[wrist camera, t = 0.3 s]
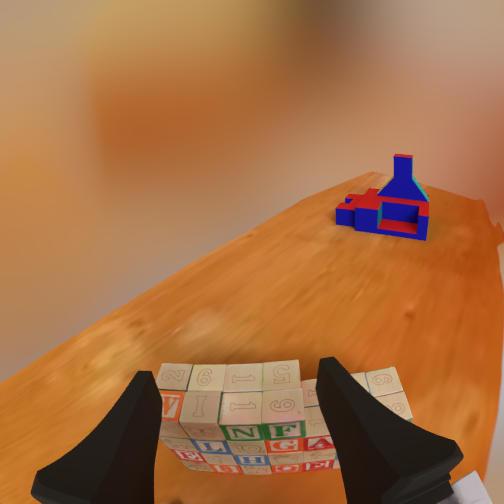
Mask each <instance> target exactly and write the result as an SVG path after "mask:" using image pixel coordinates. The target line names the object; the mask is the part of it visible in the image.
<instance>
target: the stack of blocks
mask: <svg viewBox="0 0 504 504" xmlns="http://www.w3.org/2000/svg"><path fill="white" fill-rule="evenodd" d="M350 375H351V376H352V377H353V378H354V379H355V380H356V381H357V382H358V383H359V384H360V385H361V386H363V387H364V388H365V389H366V390H367V391H368V392H369V393H370V394H371V395H372V396H374V397H375V398H376V399H377V400H378V401H379V402H381V403H382V404H383V405H385V406H386V407H387V408H389V409H390V410H391V411H393V412H394V413H396V414H397V415H399V416H400V417H402V418H404V419H405V420H407V421H409V422H411V420H412V419H413V417H412V413H411V410H410V407H409V404H408V401H407V398H406V395H405V392H403V388H402V385H401V382H400V380H399V377H398V374H397V372H396V369H395V367H390V368H385V369H380V370H375V371H370V372H367V373H364V372H361V373H355V374H350ZM316 381H317V379H311V380H304V381H301V377H300V365H299V360H288V361H276V362H264V363H251V364H232V365H227V364H206V365H197V364H196V365H192V364H174V363H163V364H162V365H161V368H160V371H159V373H158V376H157V379H156V381H155V382H156V384H157V387H158V389H159V392H160V394H161V397H162V399H163V406H162V422H161V427H160V433H159V438H160V439H161V441H163V443H164V444H165V445H166V446H167V447H168V448H169V449H171V450H172V452H173V453H174V454H175V455H176V456H177V457H178V458H179V459H181V462H182V463H183V464H184V465H185V466H186V467H187V468H188V469H192V470H200V471H210V472H216V473H228V474H253V475H262V474H273V473H293V472H302V471H313V470H322V469H330V468H332V469H337V468H340V464H339V460H338V456H337V453H336V450H335V447H334V444H333V441H332V439H331V436H330V434H329V431H328V428H327V426H326V423H325V421H324V418H323V415H322V413H321V410H320V407H319V403H318V399H317V394H316V390H315V387H316Z"/></svg>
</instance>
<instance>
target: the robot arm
mask: <svg viewBox="0 0 504 504" xmlns="http://www.w3.org/2000/svg"><path fill="white" fill-rule="evenodd" d="M315 390H316V394H317V399H318V403H319V407H320V410H321V413H322V415H323V418H324V421H325V423H326V426H327V428H328V431H329V434H330V436H331V439H332V441H333V444H334V447H335V450H336V453H337V456H338V460H339V464H340V469H341V473H342V478H343V482H344V487H345V493H346V498H347V504H493V503H492V501H491V499H490V497H489V495H488V493H487V491H486V489H485V487H484V485H483V483H482V481H481V479H480V478H479V476H478V474H477V472H476V470H473V471H472V472H470V473H469V474H467V475H465V476H464V477H462V478H461V479H459V480H457V481H456V482H454V483H453V484H451V485H450V483H449V480H450V479H451V476H450V474H449V472H450V471H451V470H452V469H453V468H455V467H456V466H457V465H458V464H459V463H460V462H461V461H462V459H463V457H464V456H463V454H462V452H461V450H460V448H459V446H458V445H457V443H456V442H455V441H454V440H451V439H448V438H445V437H442V436H439V435H436V434H433V433H431V432H429V431H426V430H424V429H422V428H420V427H418V426H416V425H414V424H412V423H411V422H409V421H407V420H405V419H404V418H402V417H400V416H399V415H397V414H396V413H394V412H393V411H391V410H390V409H389V408H387V407H386V406H385V405H383V404H382V403H381V402H379V401H378V400H377V399H376V398H375V397H374V396H372V395H371V394H370V393H369V392H368V391H367V390H366V389H365V388H364V387H363V386H361V385H360V384H359V383H358V382H357V381H356V380H355V379H354V378H353V377H352V376H351V375H350V373H349V372H348V371H347V370H346V369H345V368H344V367H343V366H342V365H341V364H340V363H339V362H338V360H337V359H336V358H335V357H328V358H322V359H320V362H319V369H318V375H317V381H316V387H315ZM162 406H163V399H162V397H161V394H160V392H159V389H158V387H157V384H156V382H155V379H154V377H153V374H152V371H138V372H137V373H136V375H135V376H134V377H133V379H132V380H131V382H130V383H129V385H128V386H127V388H126V389H125V391H124V392H123V394H122V395H121V396H120V398H119V399H118V401H117V402H116V403H115V405H114V406H113V407H112V409H111V410H110V411H109V412H108V414H107V415H106V416H105V417H104V419H103V420H102V421H101V422H100V423H99V424H98V425H97V427H96V428H95V429H94V430H93V431H92V432H91V433H90V434H89V435H88V436H87V437H86V438H85V439H84V440H82V441H81V442H80V443H79V444H78V445H77V446H76V447H74V448H73V449H72V450H71V451H69V452H68V453H67V454H65V455H64V456H62V457H61V458H60V459H58V460H57V461H55V462H53V463H52V464H50V465H48V466H46V467H44V468H42V469H41V470H39V471H37V473H36V476H35V479H34V482H33V486H32V489H31V495H32V496H33V497H34V498H35V499H36V500H38V501H39V502H41V503H42V504H154V465H155V457H156V451H157V445H158V439H159V433H160V427H161V422H162Z"/></svg>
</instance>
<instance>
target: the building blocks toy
mask: <svg viewBox="0 0 504 504" xmlns="http://www.w3.org/2000/svg"><path fill="white" fill-rule="evenodd" d="M428 218H429V196H428V195H427V194H426V193H425V192H424V190H423V189H422V187H421V186H420V185H419V183H418V182H417V181H416V179H415V178H414V177H413V156H412V155H403V154H395V155H394V176H393V177H392V178H391V179H390V180H389V181H388V182H387V183H386V184H385V185H384V186H383V187H382V188H381V189H371V188H369V189H368V190H367V192H366V193H365V194H364V195H357V194H348V196H347V197H346V198H345V203H340V204H339V205H338V206H337V207H336V225H345V226H352V227H355V231H363V232H370V233H377V234H384V235H391V236H398V237H405V238H411V239H418V240H424V241H426V236H427V227H428ZM394 220H395V221H394Z"/></svg>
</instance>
